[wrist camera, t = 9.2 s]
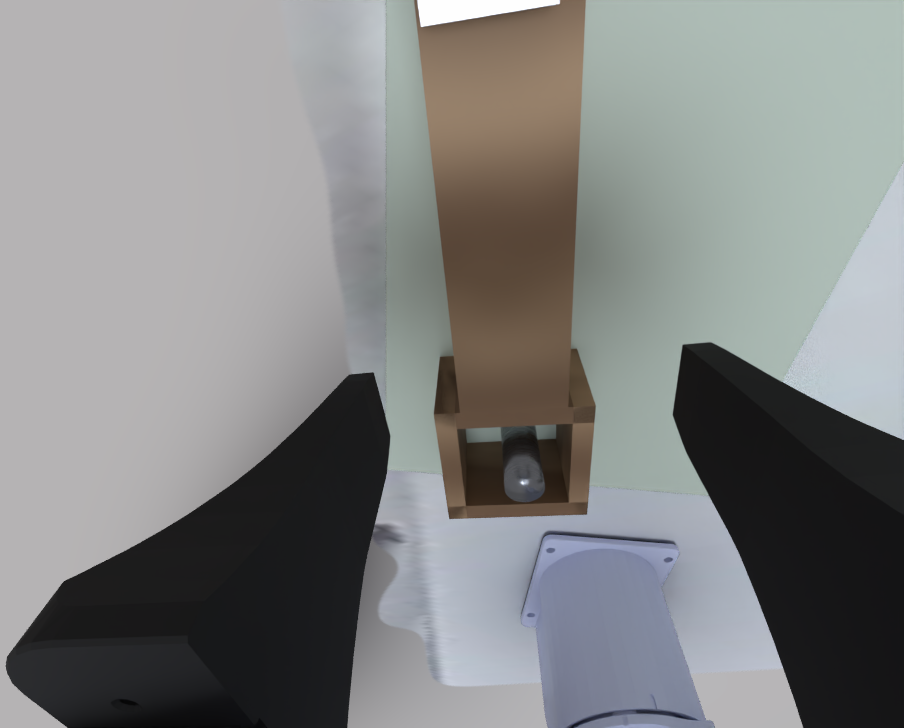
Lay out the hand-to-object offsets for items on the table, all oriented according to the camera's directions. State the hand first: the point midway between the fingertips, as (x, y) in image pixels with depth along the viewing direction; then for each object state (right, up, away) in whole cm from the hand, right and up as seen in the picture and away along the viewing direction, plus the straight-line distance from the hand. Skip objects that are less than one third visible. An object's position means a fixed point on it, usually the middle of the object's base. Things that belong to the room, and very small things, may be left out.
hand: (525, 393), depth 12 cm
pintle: (+1, -2, +12) cm, 12 cm away
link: (0, +5, +8) cm, 9 cm away
